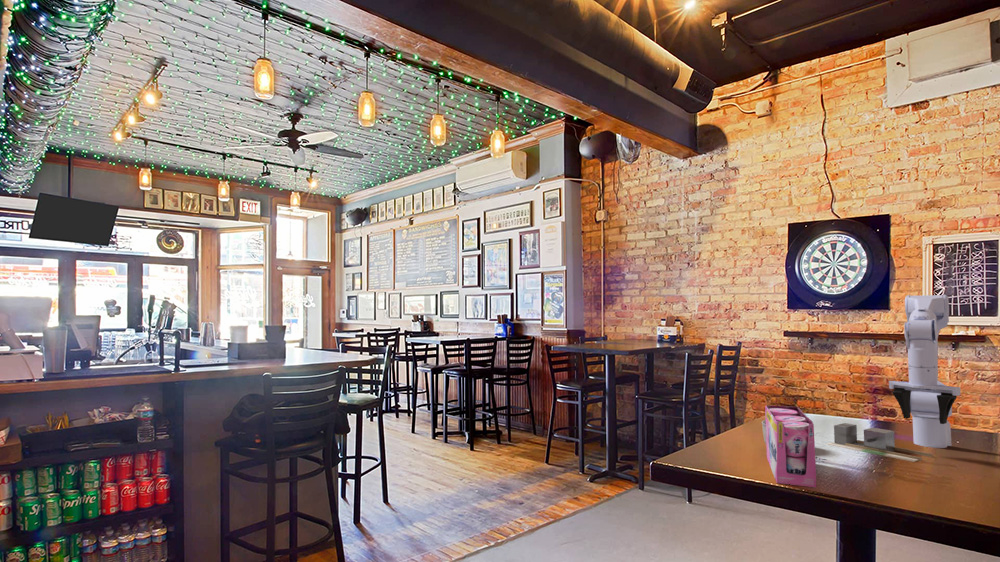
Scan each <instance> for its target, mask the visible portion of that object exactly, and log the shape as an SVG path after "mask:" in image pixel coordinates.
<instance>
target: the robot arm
mask: <svg viewBox="0 0 1000 562" xmlns="http://www.w3.org/2000/svg"><path fill="white" fill-rule="evenodd" d="M904 309H905V311H904V313H905V316H906V321H905V322H904V325H903V326H904V327H903V328H904V329H903V331H904V332H903V333H904V339H905V342H906V343H905V344H906V349H907V364H908V366H907V367H908V381H897V380H889V381H888V387H889V388H888V389H890V390H892V395H893V397H894V398H895V400H896V401H897V403H898V405H899V407H900V410H901V413H902V416H903V419H905V420H907V419H911V418H912V432H913V433H912V437H913V444H914V445H917V446H921V447H926V448H934V449H946V448H948V446H949V447H952V429H951V428H952V427H951V423H950V422H949V419H948V417H952V416H953V404H954V403H955V402H956V399H957V398H958V396H959V397H960V396H961V387H960V386H950V385H946V384H944V383H943V382H941V381H939V359H938V358H939V357H938V355H939V353H938V352H939V351H938V350H939V349H938V344H939V342H938V338H939V334H940V331H941V329H944V328H946V327H948V325H949V322H950V321H949V320H950V319H949V318H950V317H949V316H950V303H949V296H948V295H946V294H943V295H942V294H941V295H940V294H937V295H936V294H935V295H933V294H932V295H931V294H927V295H925V294H923V295H910V294H907V295H906V296H905V298H904ZM911 416H912V417H911Z"/></svg>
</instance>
